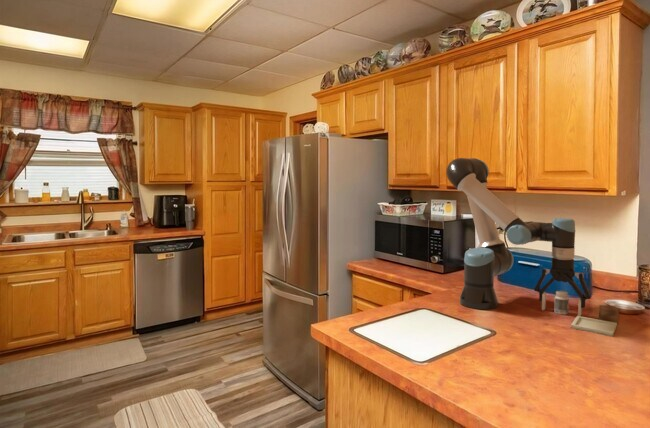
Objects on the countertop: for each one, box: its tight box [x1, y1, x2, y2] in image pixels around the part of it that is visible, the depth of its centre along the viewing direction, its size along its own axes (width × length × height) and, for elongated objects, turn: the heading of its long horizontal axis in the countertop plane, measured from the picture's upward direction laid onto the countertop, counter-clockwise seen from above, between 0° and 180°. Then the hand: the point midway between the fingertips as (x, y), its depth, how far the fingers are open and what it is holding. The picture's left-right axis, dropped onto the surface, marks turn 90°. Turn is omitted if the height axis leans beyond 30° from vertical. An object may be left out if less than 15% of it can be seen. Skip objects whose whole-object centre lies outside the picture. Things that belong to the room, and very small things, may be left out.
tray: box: [570, 315, 618, 337], centre depth 137 cm, size 12×12×1 cm
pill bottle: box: [553, 290, 570, 315], centre depth 152 cm, size 5×5×8 cm
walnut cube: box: [598, 304, 620, 325], centre depth 143 cm, size 5×5×5 cm
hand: (561, 312), depth 152 cm, fingers open, 12 cm apart
